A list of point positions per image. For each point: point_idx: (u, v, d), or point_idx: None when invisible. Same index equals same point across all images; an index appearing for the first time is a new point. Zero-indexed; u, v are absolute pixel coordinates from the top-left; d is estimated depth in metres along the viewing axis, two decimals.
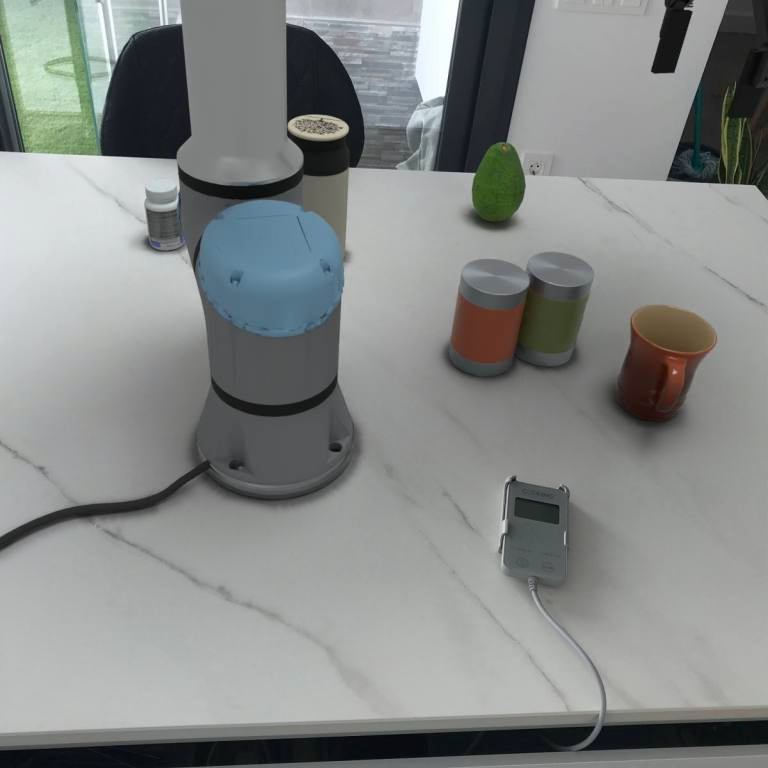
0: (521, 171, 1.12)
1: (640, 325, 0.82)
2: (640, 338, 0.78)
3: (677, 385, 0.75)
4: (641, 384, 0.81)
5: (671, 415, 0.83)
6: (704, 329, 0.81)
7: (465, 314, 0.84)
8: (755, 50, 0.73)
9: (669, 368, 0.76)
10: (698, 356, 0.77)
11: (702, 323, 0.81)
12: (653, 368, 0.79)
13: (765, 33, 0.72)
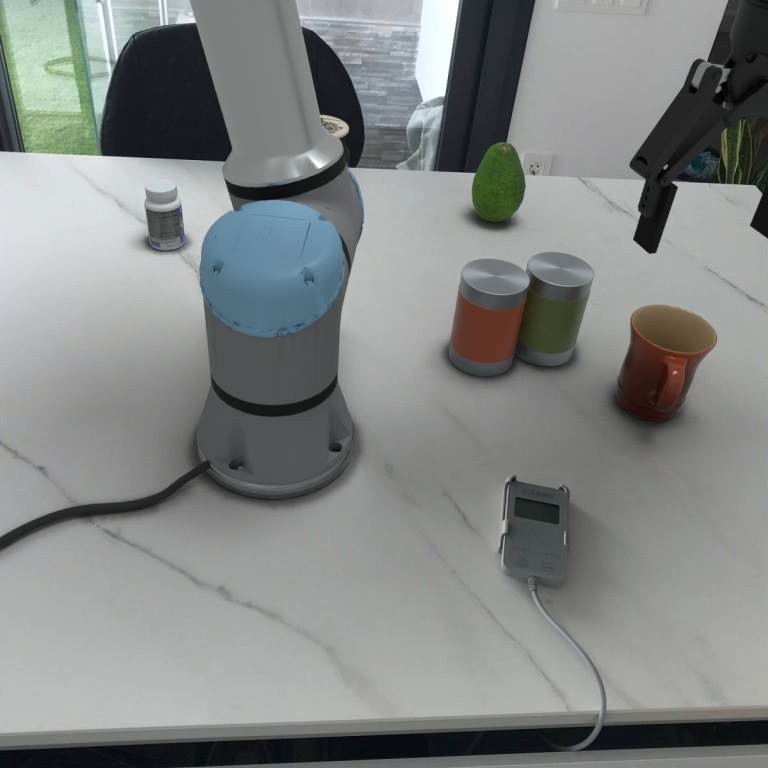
0: (521, 171, 1.12)
1: (640, 325, 0.82)
2: (640, 338, 0.78)
3: (677, 385, 0.75)
4: (641, 384, 0.81)
5: (671, 415, 0.83)
6: (704, 329, 0.81)
7: (465, 314, 0.84)
8: None
9: (669, 368, 0.76)
10: (698, 356, 0.77)
11: (702, 323, 0.81)
12: (653, 368, 0.79)
13: None
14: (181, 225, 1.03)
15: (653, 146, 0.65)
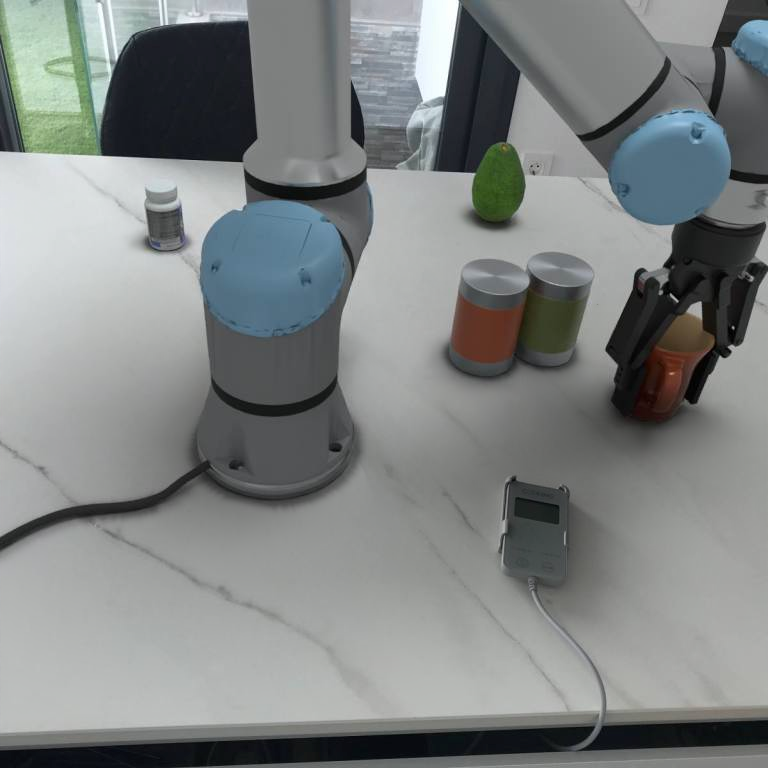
0: (521, 171, 1.12)
1: None
2: None
3: (674, 385, 0.75)
4: None
5: (669, 416, 0.83)
6: (702, 330, 0.81)
7: (465, 314, 0.84)
8: None
9: (666, 369, 0.76)
10: (695, 357, 0.77)
11: (700, 324, 0.81)
12: (651, 369, 0.79)
13: None
14: (181, 225, 1.03)
15: (619, 339, 0.76)
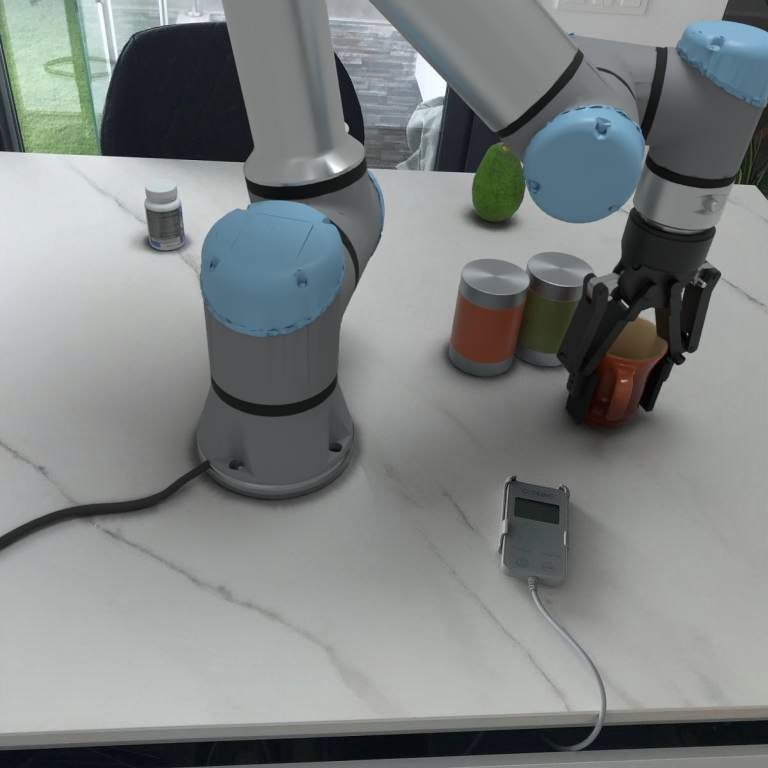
0: (521, 171, 1.12)
1: None
2: None
3: (625, 393, 0.73)
4: None
5: (624, 423, 0.82)
6: (656, 335, 0.79)
7: (465, 314, 0.84)
8: None
9: (617, 376, 0.74)
10: (648, 363, 0.75)
11: (654, 329, 0.80)
12: (603, 376, 0.78)
13: None
14: (181, 225, 1.03)
15: (569, 346, 0.74)
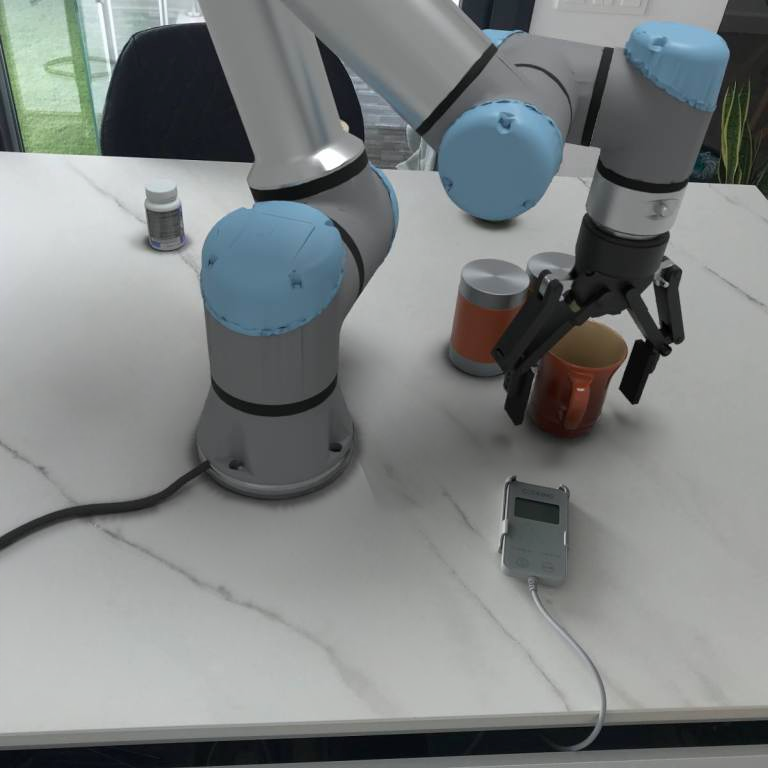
0: None
1: None
2: (547, 353, 0.75)
3: (581, 402, 0.72)
4: (551, 400, 0.78)
5: (585, 431, 0.80)
6: (616, 342, 0.78)
7: (465, 314, 0.84)
8: None
9: (574, 385, 0.72)
10: (606, 371, 0.74)
11: (615, 336, 0.78)
12: (561, 384, 0.76)
13: None
14: (181, 225, 1.03)
15: (508, 342, 0.71)
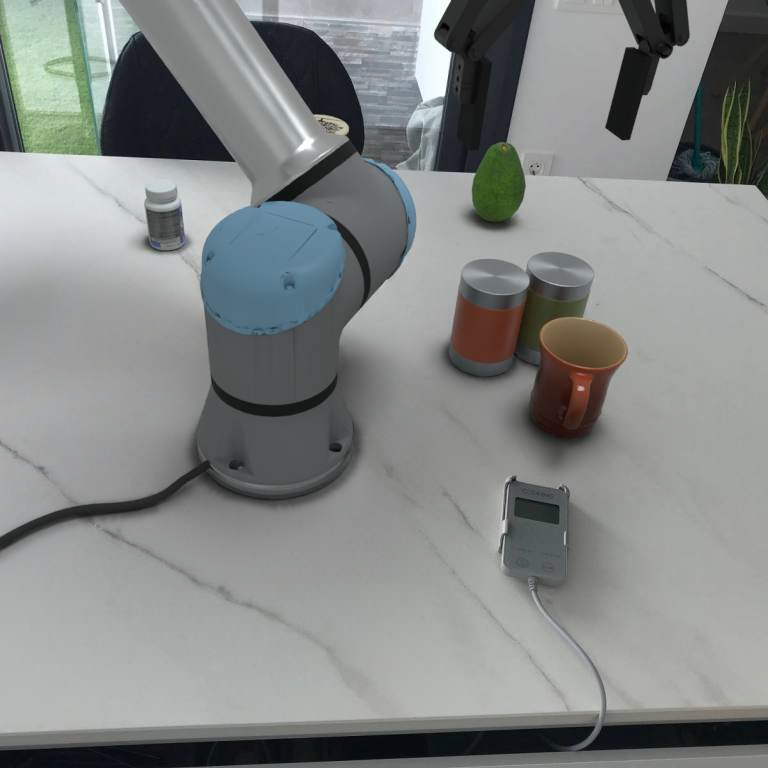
0: (521, 171, 1.12)
1: (551, 338, 0.79)
2: (547, 353, 0.75)
3: (581, 402, 0.72)
4: (551, 400, 0.78)
5: (585, 432, 0.80)
6: (616, 342, 0.78)
7: (465, 314, 0.84)
8: None
9: (574, 385, 0.72)
10: (606, 371, 0.74)
11: (615, 336, 0.78)
12: (561, 384, 0.76)
13: None
14: (181, 225, 1.03)
15: (455, 8, 0.54)
